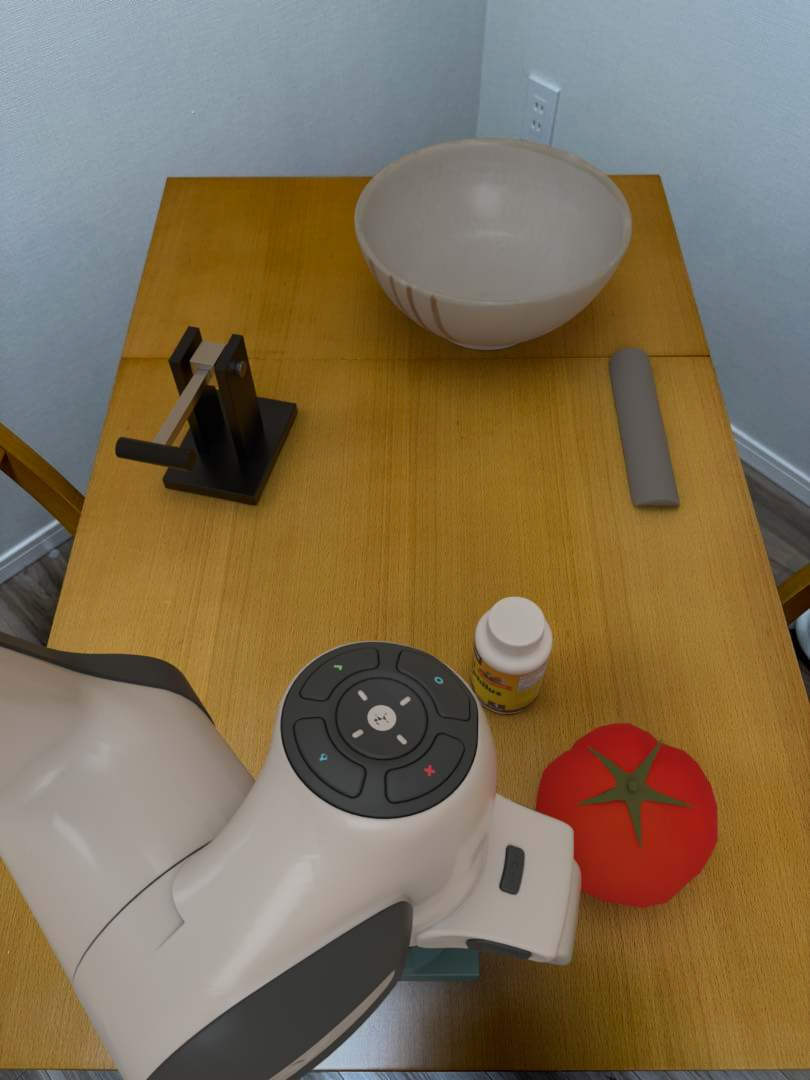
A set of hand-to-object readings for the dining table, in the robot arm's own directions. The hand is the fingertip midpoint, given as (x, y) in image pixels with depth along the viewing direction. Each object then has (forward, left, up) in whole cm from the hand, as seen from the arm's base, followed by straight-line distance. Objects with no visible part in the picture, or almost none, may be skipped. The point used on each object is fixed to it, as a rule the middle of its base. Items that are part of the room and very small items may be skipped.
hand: (401, 907), depth 54 cm
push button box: (0, 0, -4) cm, 4 cm away
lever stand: (+26, +37, -4) cm, 45 cm away
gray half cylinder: (+49, +6, -5) cm, 50 cm away
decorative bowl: (+56, +27, -5) cm, 62 cm away
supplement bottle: (+19, +3, -5) cm, 20 cm away
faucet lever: (+21, +35, +6) cm, 41 cm away
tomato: (+13, -9, -5) cm, 16 cm away
